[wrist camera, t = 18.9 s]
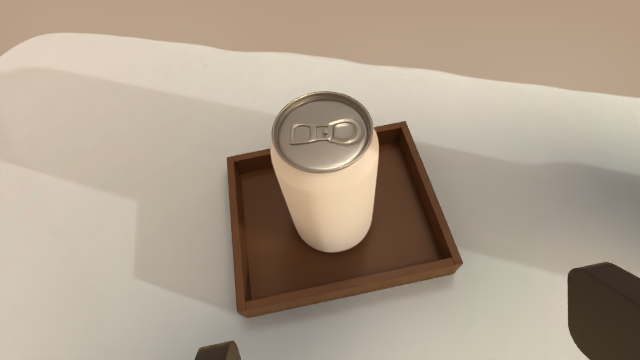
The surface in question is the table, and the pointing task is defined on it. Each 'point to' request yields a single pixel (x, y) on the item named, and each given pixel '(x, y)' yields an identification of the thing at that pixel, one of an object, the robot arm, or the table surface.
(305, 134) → the can
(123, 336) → the table surface
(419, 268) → the tray
